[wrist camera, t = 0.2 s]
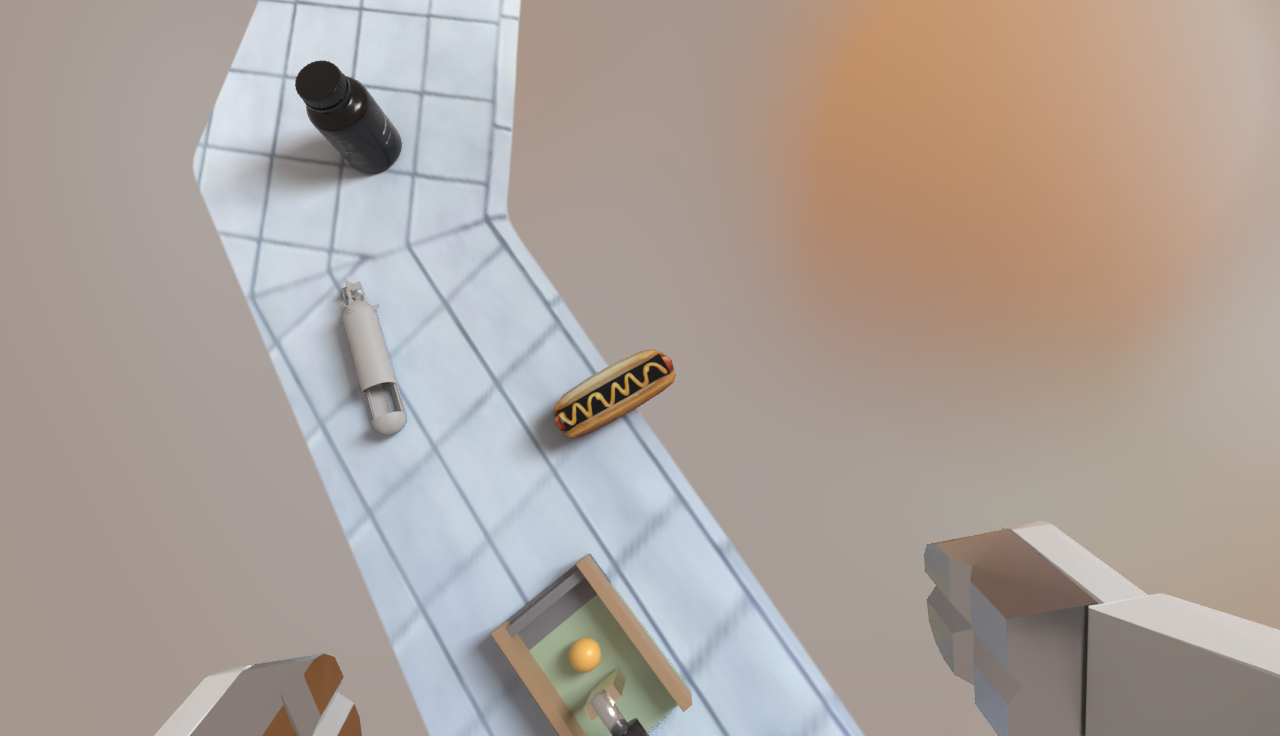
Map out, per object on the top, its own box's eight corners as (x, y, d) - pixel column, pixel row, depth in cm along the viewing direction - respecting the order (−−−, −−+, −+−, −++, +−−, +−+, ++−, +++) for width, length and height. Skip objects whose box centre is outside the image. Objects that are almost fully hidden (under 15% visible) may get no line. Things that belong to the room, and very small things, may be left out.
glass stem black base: (656, 720, 55) (654, 752, 48) (629, 744, 55) (623, 779, 48) (617, 665, 56) (609, 688, 49) (590, 688, 56) (578, 714, 49)
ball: (609, 653, 57) (605, 662, 54) (584, 674, 57) (579, 684, 54) (590, 627, 58) (585, 634, 55) (565, 647, 57) (560, 655, 55)
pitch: (690, 690, 57) (692, 704, 53) (600, 767, 56) (595, 788, 52) (589, 553, 60) (584, 557, 56) (502, 624, 59) (490, 633, 55)
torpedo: (422, 426, 64) (394, 418, 58) (381, 442, 64) (348, 436, 58) (377, 280, 68) (347, 258, 62) (338, 295, 68) (303, 274, 62)
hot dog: (551, 407, 64) (541, 399, 59) (658, 346, 64) (657, 334, 60) (572, 447, 63) (564, 443, 58) (682, 386, 63) (682, 376, 58)
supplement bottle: (415, 149, 71) (363, 81, 59) (369, 185, 70) (309, 123, 59) (381, 113, 72) (325, 39, 61) (337, 148, 72) (271, 80, 60)
